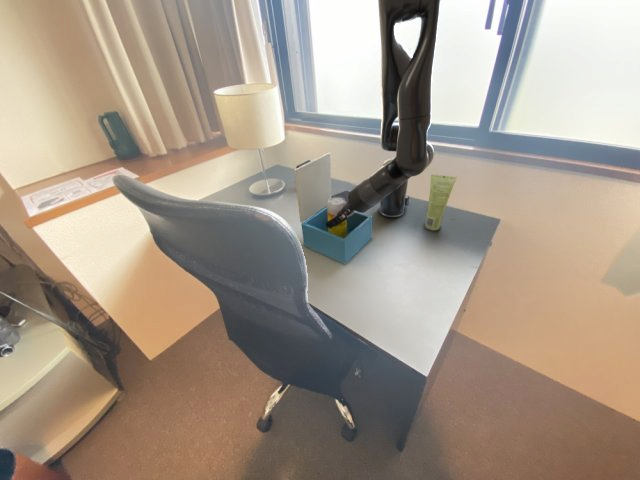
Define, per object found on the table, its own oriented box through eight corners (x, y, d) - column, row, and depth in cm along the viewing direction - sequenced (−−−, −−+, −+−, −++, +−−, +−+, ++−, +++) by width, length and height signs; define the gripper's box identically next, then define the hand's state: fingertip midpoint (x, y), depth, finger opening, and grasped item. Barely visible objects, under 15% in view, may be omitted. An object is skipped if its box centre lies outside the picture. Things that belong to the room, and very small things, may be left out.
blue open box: (371, 238, 94) (372, 216, 88) (344, 264, 84) (344, 241, 79) (331, 224, 103) (330, 203, 97) (304, 245, 93) (301, 223, 88)
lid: (330, 152, 86) (317, 150, 89) (296, 170, 76) (283, 166, 79) (331, 202, 97) (320, 198, 99) (301, 222, 87) (290, 218, 90)
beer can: (345, 245, 89) (345, 205, 81) (327, 244, 91) (325, 205, 82) (347, 235, 94) (347, 196, 85) (330, 234, 95) (328, 195, 87)
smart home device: (308, 204, 113) (346, 190, 121) (308, 207, 114) (346, 193, 122) (319, 212, 107) (358, 196, 115) (319, 215, 108) (358, 200, 116)
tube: (434, 221, 99) (445, 170, 88) (444, 228, 96) (457, 176, 84) (421, 225, 98) (431, 174, 86) (430, 232, 94) (442, 180, 83)
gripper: (368, 174, 81) (334, 202, 93) (349, 194, 71) (313, 223, 84) (384, 193, 82) (348, 218, 94) (367, 216, 72) (330, 241, 84)
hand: (332, 220), depth 89 cm, fingers closed on beer can, 6 cm apart
